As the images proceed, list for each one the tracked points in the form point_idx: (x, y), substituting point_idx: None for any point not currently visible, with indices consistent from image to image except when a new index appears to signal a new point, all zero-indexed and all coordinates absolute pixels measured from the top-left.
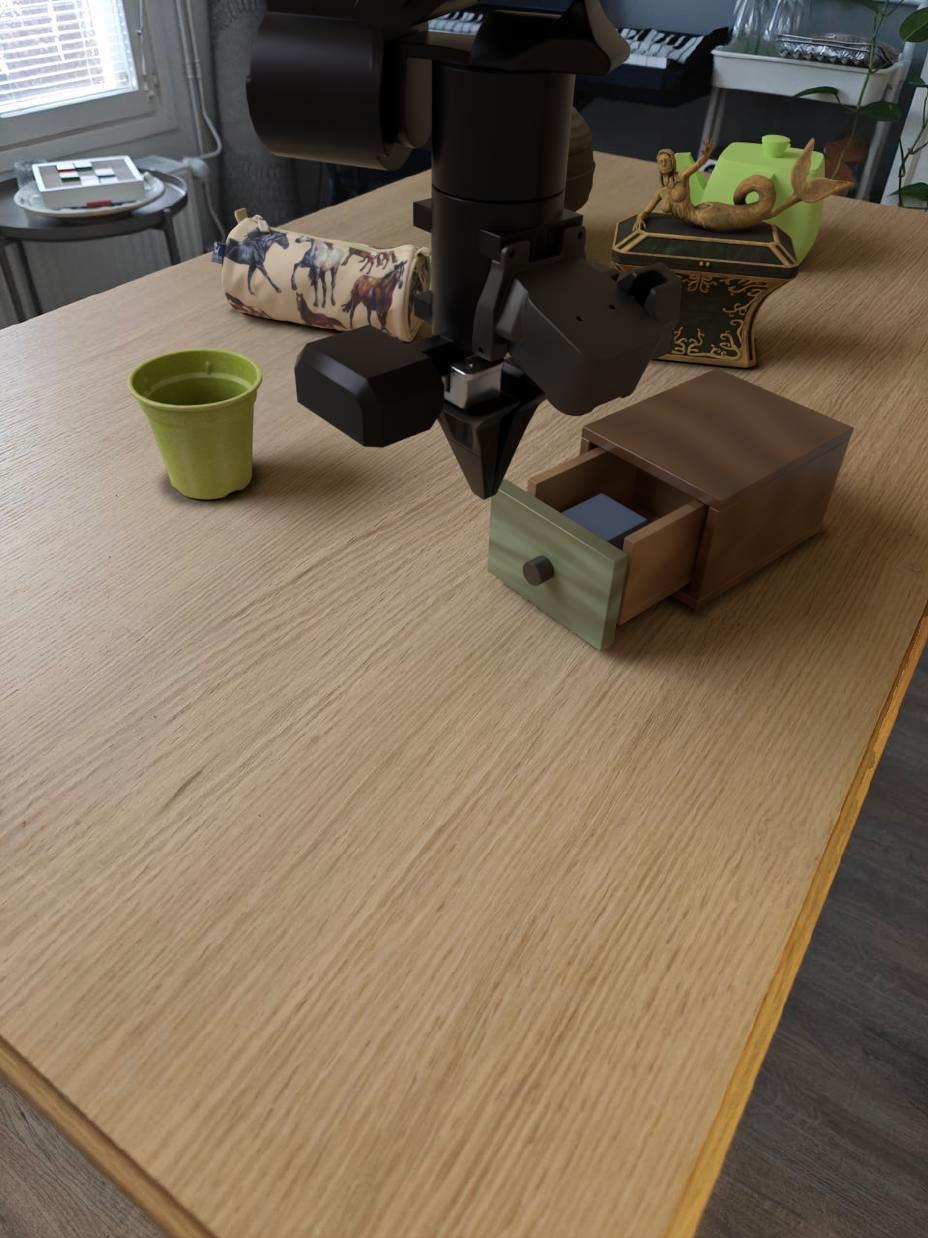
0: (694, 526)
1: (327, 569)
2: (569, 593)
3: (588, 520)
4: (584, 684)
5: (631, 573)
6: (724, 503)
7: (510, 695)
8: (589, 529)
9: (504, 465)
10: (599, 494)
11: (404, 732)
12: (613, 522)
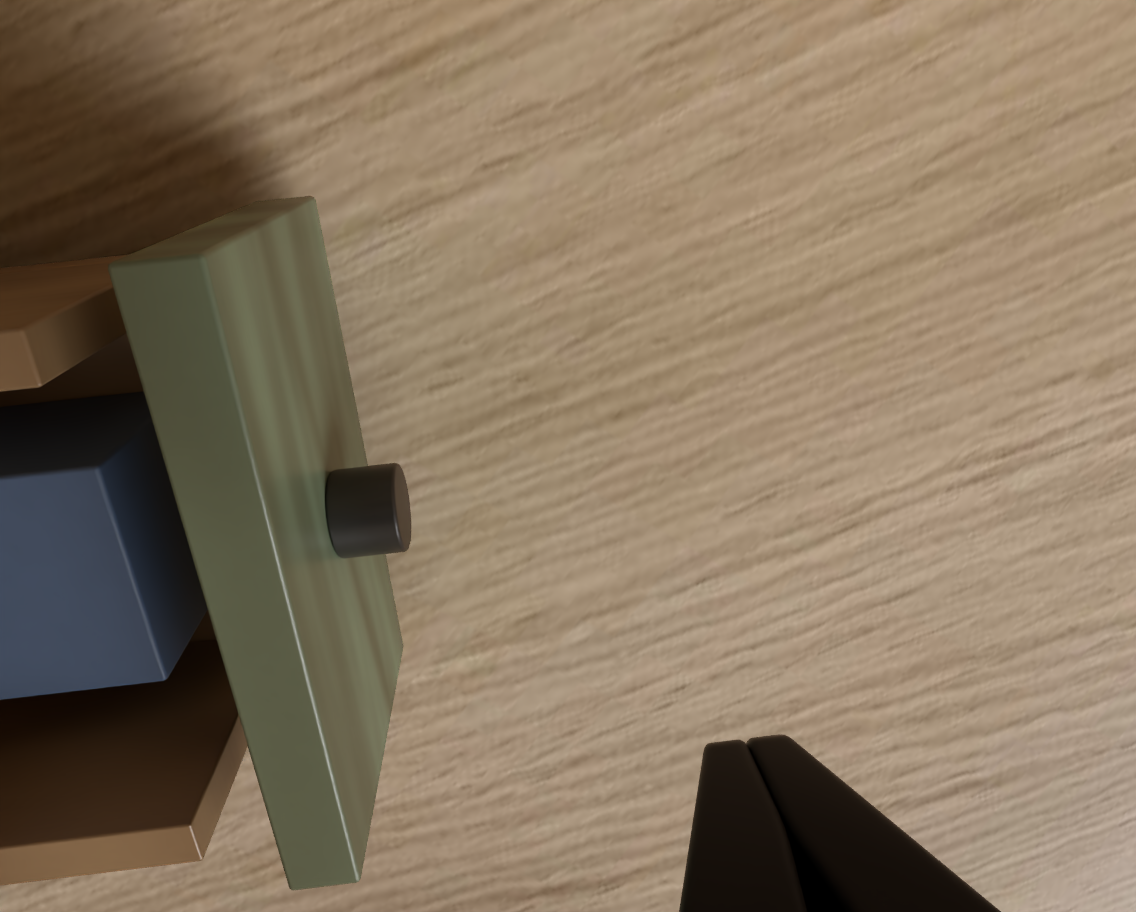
0: None
1: None
2: (319, 386)
3: (81, 601)
4: (418, 141)
5: (85, 291)
6: None
7: (628, 228)
8: (110, 556)
9: (740, 876)
10: None
11: (934, 272)
12: None
